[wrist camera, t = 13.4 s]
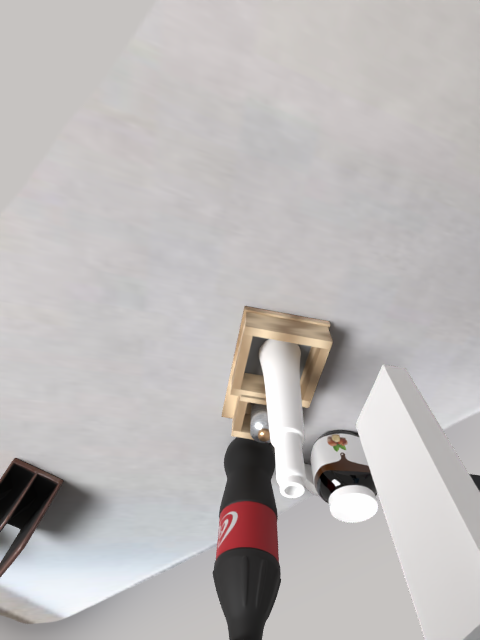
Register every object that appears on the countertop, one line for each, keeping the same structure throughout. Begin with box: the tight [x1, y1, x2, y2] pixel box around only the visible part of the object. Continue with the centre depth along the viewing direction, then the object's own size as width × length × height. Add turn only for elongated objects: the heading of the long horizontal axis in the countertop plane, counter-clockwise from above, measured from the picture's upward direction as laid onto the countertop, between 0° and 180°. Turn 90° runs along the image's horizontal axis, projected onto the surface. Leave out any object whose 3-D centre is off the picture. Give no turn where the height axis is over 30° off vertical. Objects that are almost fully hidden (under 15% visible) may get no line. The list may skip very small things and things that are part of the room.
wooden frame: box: [222, 306, 333, 440], centre depth 52 cm, size 12×20×5 cm, turn 170°
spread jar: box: [304, 431, 378, 523], centre depth 58 cm, size 12×11×12 cm
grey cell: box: [250, 403, 271, 443], centre depth 53 cm, size 4×4×7 cm
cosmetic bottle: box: [259, 339, 306, 498], centre depth 42 cm, size 6×6×22 cm
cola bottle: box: [213, 437, 281, 640], centre depth 50 cm, size 8×8×30 cm
